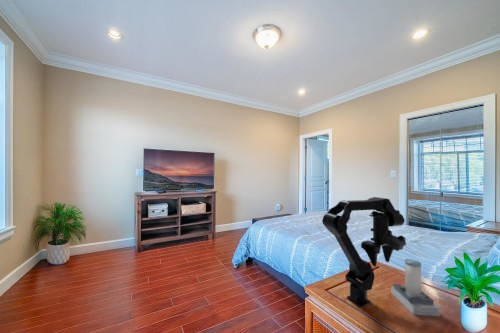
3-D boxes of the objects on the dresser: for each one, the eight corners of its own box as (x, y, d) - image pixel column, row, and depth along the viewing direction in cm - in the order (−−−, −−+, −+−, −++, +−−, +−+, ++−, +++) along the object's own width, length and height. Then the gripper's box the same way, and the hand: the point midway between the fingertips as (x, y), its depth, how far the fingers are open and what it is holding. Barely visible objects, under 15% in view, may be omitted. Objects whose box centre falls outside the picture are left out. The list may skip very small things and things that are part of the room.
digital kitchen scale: (413, 314, 77) (413, 302, 78) (391, 292, 91) (391, 283, 91) (439, 316, 77) (439, 304, 77) (413, 294, 91) (413, 284, 91)
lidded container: (410, 299, 82) (410, 264, 82) (402, 291, 87) (401, 258, 87) (425, 300, 81) (424, 264, 82) (415, 292, 86) (415, 259, 87)
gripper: (387, 234, 79) (388, 277, 79) (413, 229, 88) (414, 267, 87) (360, 227, 89) (360, 265, 88) (386, 223, 98) (386, 257, 97)
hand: (381, 263), depth 90 cm, fingers open, 9 cm apart
